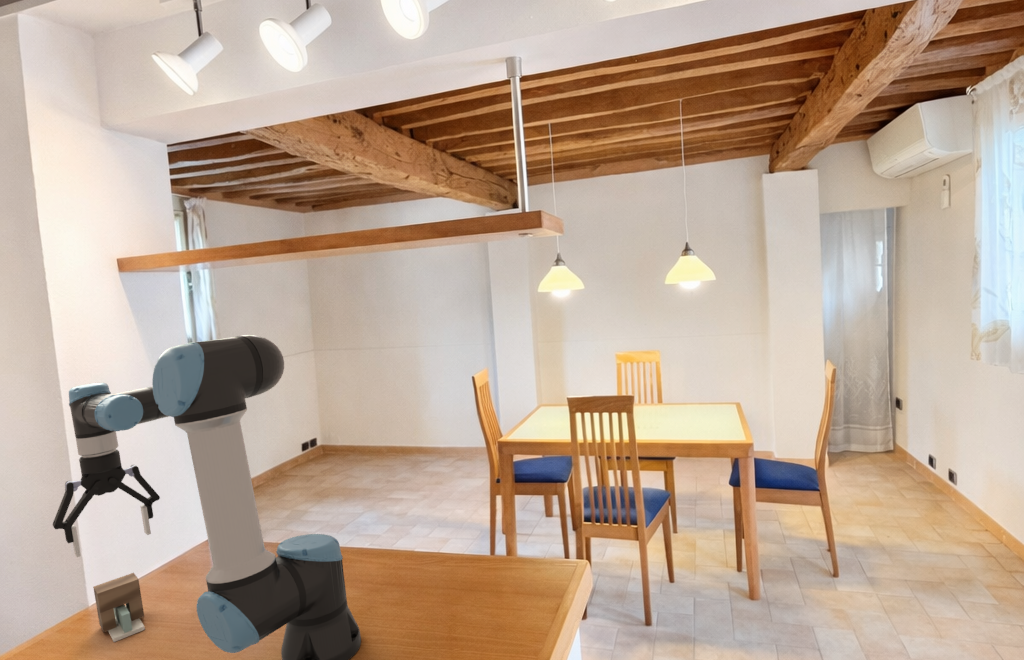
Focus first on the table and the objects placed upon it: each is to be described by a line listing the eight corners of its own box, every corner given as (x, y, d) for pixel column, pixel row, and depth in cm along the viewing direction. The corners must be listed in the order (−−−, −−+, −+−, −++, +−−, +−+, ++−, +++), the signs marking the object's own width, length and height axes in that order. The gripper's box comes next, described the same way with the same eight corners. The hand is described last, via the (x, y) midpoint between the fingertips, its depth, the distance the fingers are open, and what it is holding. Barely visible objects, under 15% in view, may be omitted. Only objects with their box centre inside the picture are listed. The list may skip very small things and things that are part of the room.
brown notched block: (144, 616, 142) (138, 579, 141) (103, 632, 136) (97, 593, 135) (139, 608, 145) (133, 572, 144) (99, 624, 140) (93, 586, 139)
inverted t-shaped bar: (144, 629, 137) (141, 609, 137) (113, 642, 133) (110, 621, 133) (130, 606, 148) (127, 587, 148) (101, 617, 144) (97, 598, 144)
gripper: (156, 436, 148) (170, 521, 150) (27, 465, 132) (43, 560, 133) (165, 440, 143) (178, 528, 145) (30, 471, 126) (48, 570, 128)
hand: (114, 543), depth 139 cm, fingers open, 13 cm apart
